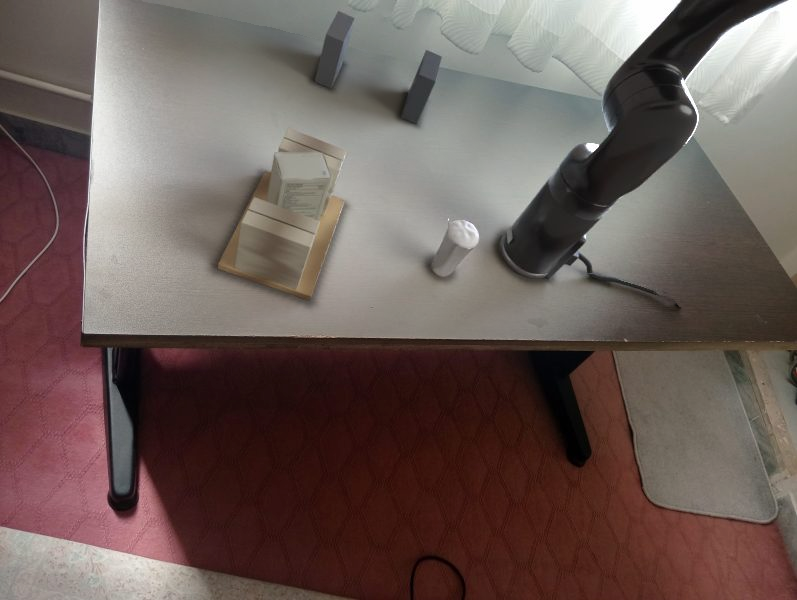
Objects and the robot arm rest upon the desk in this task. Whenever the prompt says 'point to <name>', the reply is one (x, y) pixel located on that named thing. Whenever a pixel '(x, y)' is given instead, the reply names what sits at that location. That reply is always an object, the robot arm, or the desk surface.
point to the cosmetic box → (299, 182)
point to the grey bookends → (335, 55)
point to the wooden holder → (285, 230)
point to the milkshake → (454, 247)
